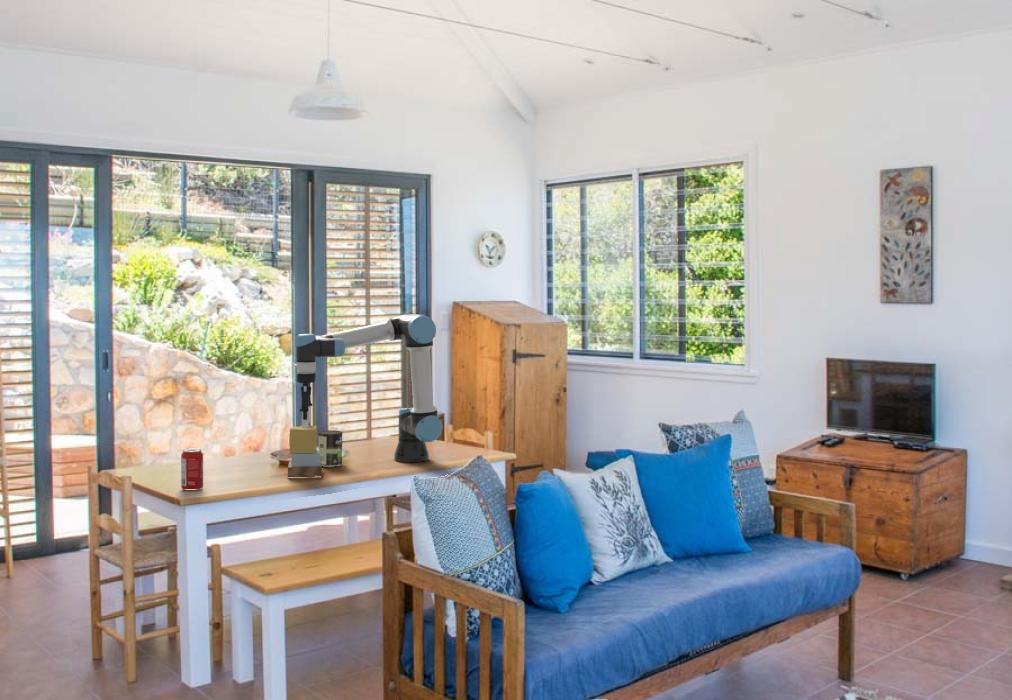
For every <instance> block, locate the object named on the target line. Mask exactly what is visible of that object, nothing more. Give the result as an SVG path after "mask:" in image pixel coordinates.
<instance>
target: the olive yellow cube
mask: <svg viewBox="0 0 1012 700" xmlns="http://www.w3.org/2000/svg"><path fill="white" fill-rule="evenodd" d="M288 435H289V438H288V441H289V446H288V447H289V454H297V453H315V452H316V449H318V427H317V425H309V428H302V425H300V426H292V427H291V428H290V429H289V434H288Z"/></svg>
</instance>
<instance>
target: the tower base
mask: <svg viewBox="0 0 1012 700" xmlns="http://www.w3.org/2000/svg"><path fill="white" fill-rule="evenodd" d="M322 469H323V467H322V461H320V466H299V467H292V465H291V460H289V461H288V466H287V478H288V477H315V476H321V477H322V474H321V473H322V472H323V470H322Z"/></svg>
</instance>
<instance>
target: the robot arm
mask: <svg viewBox="0 0 1012 700" xmlns="http://www.w3.org/2000/svg"><path fill="white" fill-rule="evenodd" d="M436 334H437V326H436V324H435V322H434V321H433V319H432V318H430V317H429V316H427V315H425V314H419V313H418V314H417V313H405V314H401V315H398V316H394V317H391V318H386V319H385V321H383V322H380V323H379V322H378V323H374V324H370V325H365V326H360V327H356V328H355V327H354V328H352V329H346V330H342V331H338V332H332V333H328V334H323V335H319V334H318V335H316V334H314V333H300V334H297V336H296V343H295V344H296V345H295V346H296V348H295V350H296V363H295V364H294V366H295V368H296V372H297V373H296V382H297V383H299V384H302V386H301V387H300V392H301V408H300V409H299V412H301V426H302V428H309V426H310V424H309V423H312V421H311V420H312V419H311V418H312V417H311V416H312V415H311V414H312V412H311V411H312V409H311V408H312V406H313V403H312V401H311V395H312V386H311V383H312V384H313V383H316V381H317V379H316V378H317V377H316V371H317V370H316V369H317V363H316V362H317V359H316V358H337V357H339V358H340V357H343V356H344V355H345V352H346V350H347V349H351V348H355V347H359V346H363V345H365V346H366V345H368V344H369V345H370V344H372V343H377V342H383V341H387V340H389V341H390V342H393V341H404V343H405V345H404V346H405V348H406V350H408V351H409V363H410V375H411V377H410V378H411V392H412V405H413V406H412V407H404V408H403V407H401V408H400V409H399V410H398V443H397V446H396V449H395V451H394V455H393V457H394V458H393V459H394V461H396V462H401V463H422V462H423V461H424V462H428V461H429V460H430V458H429V457H430V456H429V455H430V454H429V450H428V448H427V445H426V443H431V442H434V441H435V440H437V439H438V438H439V437H440V436H441V434H442V433H443V432H442V431H443V422H442V420H441V419H440V418H439V415H438V413H439V412H438V408H437V407H436V406H435V405H434V394H433V392H434V391H433V381H432V379H433V378H432V363H431V362H432V361H431V349H432V347H433V346H434V341H433V340H434V338H435V337H436Z"/></svg>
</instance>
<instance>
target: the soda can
mask: <svg viewBox="0 0 1012 700" xmlns="http://www.w3.org/2000/svg"><path fill="white" fill-rule="evenodd" d="M180 472H181V473H180V480H181V481H180V483H181V484H180V485H181V486H180V487H181V489H182V490H184V489H200V488H201V489H203V488H204V453H203V452H202V448H201V449H200V448H186V449H183V450H182V453H181V454H180ZM201 489H200V490H201Z"/></svg>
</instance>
